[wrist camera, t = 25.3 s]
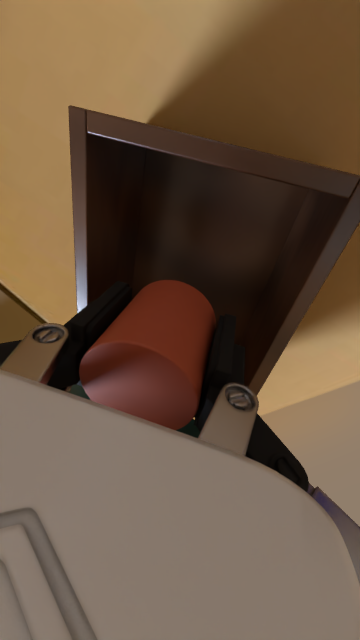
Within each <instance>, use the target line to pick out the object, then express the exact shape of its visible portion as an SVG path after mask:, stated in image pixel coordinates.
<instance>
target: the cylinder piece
mask: <svg viewBox="0 0 360 640" xmlns="http://www.w3.org/2000/svg"><path fill="white" fill-rule="evenodd" d="M215 326H216V319H215V314H214V311H213V308H212V306H211V304H210V303H209V301H208V300H207V299H206V297H205V296H204V295H203V294H202V293H201V292H200V291H198V290H197V289H196V288H194V287H192V286H190V285H188V284H186V283H184V282H180V281H175V280H160V281H156V282H153V283H150V284H148V285H147V286H145V287H144V288H143V289H141V291H140V292H139V293H138V294H137V295H136V296H135V297H134V299H133V300H132V301H131V302H130V303H129V304H128V305H127V306H126V308H125V309H124V310H123V311H122V312H121V313H120V314H119V316H118V317H117V318H116V319H115V320H114V321H113V322H112V324H111V325H110V326H109V327H108V328H107V329H106V330H105V332H104V333H103V334H102V335H101V336H100V337H99V338H98V340H97V341H96V342H95V343H94V344H93V345H92V346H91V347H90V349H89V350H88V351H87V352H86V353H85V354H84V356H83V358H82V360H81V363H80V368H79V375H80V380H81V384H82V386H83V389H84V390H85V392H86V394H87V395H88V397H89V398H90V400H91V401H94V402H96V403H99V404H102V405H105V406H108V407H111V408H114V409H116V410H119V411H122V412H125V413H128V414H131V415H133V416H136V417H139V418H142V419H145V420H148V421H150V422H153V423H156V424H159V425H162V426H164V427H167V428H170V429H173V430H177V429H180V428H182V427H184V426H185V425H187V424H188V423H189V422H190V421H191V420H192V419H193V418H194V416H195V415H196V413H197V410H198V406H199V402H200V397H201V392H202V386H203V382H204V377H205V372H206V368H207V363H208V358H209V354H210V349H211V345H212V340H213V335H214V331H215Z"/></svg>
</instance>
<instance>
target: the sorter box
mask: <svg viewBox="0 0 360 640" xmlns="http://www.w3.org/2000/svg"><path fill="white" fill-rule="evenodd" d="M68 108H69V131H70V155H71V178H72V201H73V225H74V248H75V271H76V295H77V314H78V313H79V312H80V311H81V310H82V309H83V308H85V307H86V306H87V305H88V304H89V303H90V302H92V301H93V300H96V299H97V298H98V297H100V296H101V295H102V294H103V293H104V292H105V291H106V290H108V289H109V288H110V287H111V286H112V285H113V284H114V283H116V282H117V281H120V282H124V283H127V284H129V286H130V288H132V299H131V301H132V300H133V299H134V297H135V296H136V295H137V294H138V293H139V292H140V291H141V289H143V288H144V287H145V286H147V285H148V284H150V283H153V282H156V281H160V280H175V281H180V282H184V283H186V284H188V285H190V286H192V287H194V288H196V289H197V290H198V291H200V292H201V293H202V294H203V295H204V296H205V297H206V299H207V300H208V301H209V303H210V304H211V306H212V308H213V311H214V314H215V319H216V325H217V322H218V319H219V317H220V315H223V316H224V315H225V313H226V314H229V315H233V316H236V328H235V338H234V344H237V345H240V346H243V347H245V371H244V385H246V386H247V387H249V388H250V389H251V390H252V391H253V392H254V393H255V395H256V396H257V395H258V393H259V391H260V389H261V388H262V386H263V384H264V383H265V381H266V379H267V378H268V376H269V374H270V373H271V371H272V369H273V368H274V366H275V364H276V363H277V361H278V359H279V357H280V356H281V354H282V352H283V351H284V349H285V347H286V346H287V344H288V342H289V341H290V339H291V337H292V336H293V334H294V332H295V330H296V329H297V327H298V325H299V324H300V322H301V320H302V319H303V317H304V315H305V314H306V312H307V310H308V309H309V307H310V305H311V303H312V302H313V300H314V298H315V297H316V295H317V293H318V292H319V290H320V288H321V287H322V285H323V283H324V282H325V280H326V278H327V276H328V275H329V273H330V271H331V270H332V268H333V266H334V265H335V263H336V261H337V260H338V258H339V256H340V255H341V253H342V251H343V250H344V248H345V246H346V244H347V243H348V241H349V239H350V238H351V236H352V234H353V233H354V231H355V229H356V228H357V226H358V224H359V223H360V176H359V175H356V174H351V173H347V172H343V171H339V170H335V169H331V168H327V167H323V166H318V165H314V164H310V163H306V162H302V161H298V160H294V159H290V158H285V157H281V156H277V155H273V154H269V153H265V152H261V151H257V150H253V149H248V148H244V147H240V146H236V145H232V144H228V143H224V142H220V141H215V140H211V139H207V138H203V137H199V136H195V135H191V134H187V133H182V132H178V131H174V130H170V129H166V128H162V127H158V126H154V125H149V124H145V123H141V122H137V121H133V120H129V119H125V118H121V117H117V116H112V115H108V114H104V113H100V112H96V111H92V110H87V109H84V108H79V107H75V106H71V105H70V106H69V107H68ZM215 328H216V326H215Z"/></svg>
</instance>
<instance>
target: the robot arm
mask: <svg viewBox="0 0 360 640" xmlns="http://www.w3.org/2000/svg"><path fill="white" fill-rule="evenodd" d="M131 299H132V288H130V286H129V284H127V283H124V282H120V281H117V282H116V283H114V284H113V285H112V286H111V287H110V288H109V289H108V290H106V291H105V292H104V293H103V294H102V295H101V296H100V297H98V298H97V299H96V300H93V301H92V302H90V303H89V304H88V305H87V306H86V307H85V308H83V309H82V310H81V311H80V312H79V313H78V314H76V315H75V316H74V317H73V318H72V319H71V320H69V321H68V322H67V323H66V324H65V325H64V326H63V325H60V324H56V323H46V324H41V325H38V326H36V327H34V328H33V329H32V330H30V331H29V332H28V334H27V335H26V336H25V337H24V339H23V340H19V341H13V342H7V343H1V344H0V640H360V527H359V526H358V525H357V524H356V523H355V522H354V521H353V520H352V519H351V518H350V517H349V516H348V515H347V514H346V513H345V512H344V511H343V510H342V509H341V508H340V507H339V506H337V505H336V504H335V503H334V502H333V501H332V500H331V499H330V498H329V497H328V496H327V495H326V494H325V493H324V492H323V491H322V490H321V489H320V488H319V487H316V488H314V487H313V486H312V485H311V484H310V483H309V482H308V477H307V474H306V472H305V470H304V468H303V467H302V465H301V464H300V462H299V461H298V460H297V459H296V458H295V456H294V455H293V454H292V453H291V452H290V451H289V450H288V448H287V447H286V446H285V445H284V444H283V443H282V442H281V440H280V439H279V438H278V437H277V436H276V435H275V433H274V432H273V431H272V430H271V429H270V428H269V426H268V425H267V424H266V423H265V422H264V421H263V420H262V418H261V417H260V416H259V415H258V414H257V411H258V407H259V401H258V398H257V396H256V395H255V393H254V392H253V391H252V390H251V389H250V388H249V387H247V386H246V385H244V371H245V347H243V346H240V345H237V344H234V338H235V328H236V316H233V315H229V314H226V313H225V315H224V316H223V315H220V317H219V319H218V322H217V325H216V328H215V331H214V335H213V340H212V345H211V349H210V354H209V358H208V363H207V368H206V372H205V377H204V382H203V386H202V392H201V397H200V402H199V406H198V410H197V413H196V415H195V416H194V417H195V421H194V425H195V426H196V427H197V428H198V430H199V431H200V435H199V437H198V438H195V437H192V436H190V435H187V434H184V433H181V432H178V431H176V430H173V429H170V428H167V427H164V426H162V425H159V424H156V423H153V422H150V421H148V420H145V419H142V418H139V417H136V416H133V415H131V414H128V413H125V412H122V411H119V410H116V409H114V408H111V407H108V406H105V405H102V404H99V403H96V402H94V401H91V400H88V399H85V398H82V397H79V396H76V395H74V394H71V393H70V391H71V388H72V386H73V385H79V386H82V384H81V380H80V375H79V368H80V363H81V360H82V358H83V356H84V354H85V353H86V352H87V351H88V350H89V349H90V347H91V346H92V345H93V344H94V343H95V342H96V341H97V340H98V338H99V337H100V336H101V335H102V334H103V333H104V332H105V330H106V329H107V328H108V327H109V326H110V325H111V324H112V322H113V321H114V320H115V319H116V318H117V317H118V316H119V314H120V313H121V312H122V311H123V310H124V309H125V308H126V306H127V305H128V304H129V303H130V302H131ZM82 387H83V386H82Z"/></svg>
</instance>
